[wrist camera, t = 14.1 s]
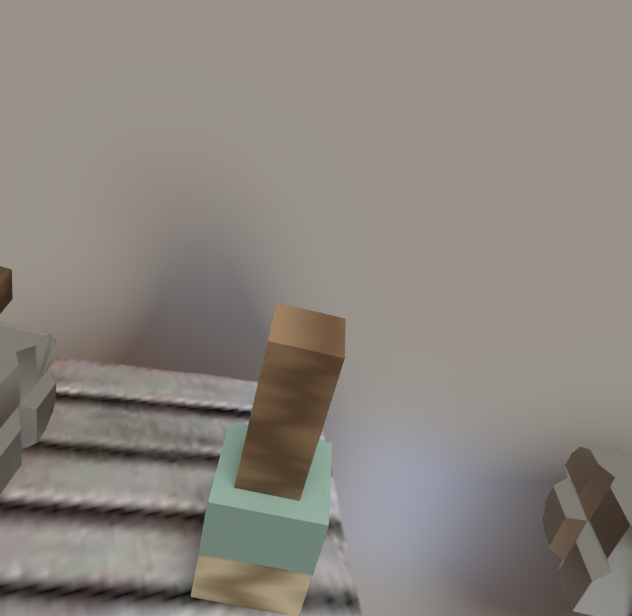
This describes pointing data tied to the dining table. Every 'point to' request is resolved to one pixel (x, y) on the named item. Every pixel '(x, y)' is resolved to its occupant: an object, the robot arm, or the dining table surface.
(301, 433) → the walnut post
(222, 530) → the upper block
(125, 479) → the dining table surface
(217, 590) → the lower block
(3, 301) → the wooden toy train
